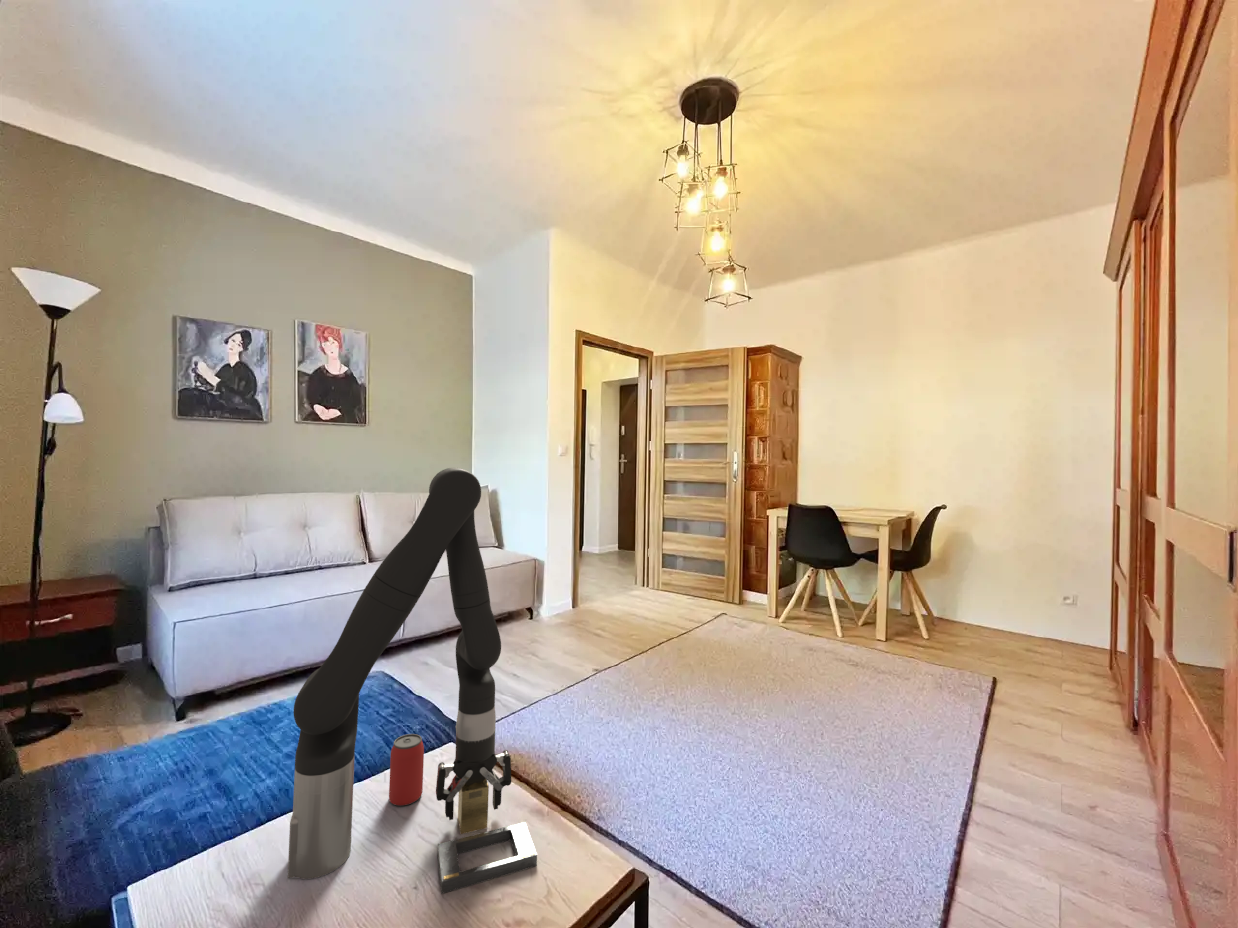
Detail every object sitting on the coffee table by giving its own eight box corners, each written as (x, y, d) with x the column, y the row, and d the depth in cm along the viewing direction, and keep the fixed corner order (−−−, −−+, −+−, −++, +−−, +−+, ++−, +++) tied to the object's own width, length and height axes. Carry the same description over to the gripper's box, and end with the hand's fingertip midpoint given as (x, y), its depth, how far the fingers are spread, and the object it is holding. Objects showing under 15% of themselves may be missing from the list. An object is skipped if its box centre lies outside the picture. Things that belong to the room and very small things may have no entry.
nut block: (460, 834, 96) (462, 792, 97) (457, 817, 101) (459, 777, 101) (487, 827, 98) (488, 786, 99) (483, 811, 103) (484, 772, 103)
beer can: (418, 784, 111) (420, 729, 112) (425, 800, 106) (427, 742, 106) (386, 794, 108) (388, 737, 108) (391, 811, 102) (394, 751, 103)
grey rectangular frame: (441, 893, 83) (441, 880, 83) (437, 855, 91) (437, 843, 91) (536, 865, 89) (537, 853, 89) (524, 832, 97) (525, 821, 98)
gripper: (439, 745, 94) (436, 834, 94) (515, 732, 100) (513, 815, 99) (436, 727, 101) (434, 809, 100) (508, 715, 106) (505, 792, 106)
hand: (473, 811), depth 100 cm, fingers open, 8 cm apart
